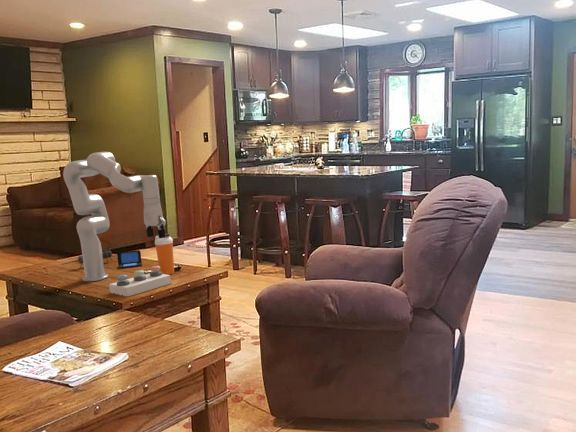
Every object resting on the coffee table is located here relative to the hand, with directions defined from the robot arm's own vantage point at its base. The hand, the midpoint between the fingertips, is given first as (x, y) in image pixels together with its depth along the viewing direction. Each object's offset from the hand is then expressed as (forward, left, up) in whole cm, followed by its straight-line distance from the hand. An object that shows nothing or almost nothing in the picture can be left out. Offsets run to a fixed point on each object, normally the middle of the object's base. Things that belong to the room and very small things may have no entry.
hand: (156, 237), depth 287 cm
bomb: (-70, +2, -22) cm, 73 cm away
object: (-48, +14, -22) cm, 54 cm away
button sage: (0, -12, -15) cm, 19 cm away
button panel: (0, -12, -22) cm, 25 cm away
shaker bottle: (-12, +12, -22) cm, 28 cm away
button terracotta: (0, -3, -15) cm, 16 cm away
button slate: (0, -21, -15) cm, 26 cm away
